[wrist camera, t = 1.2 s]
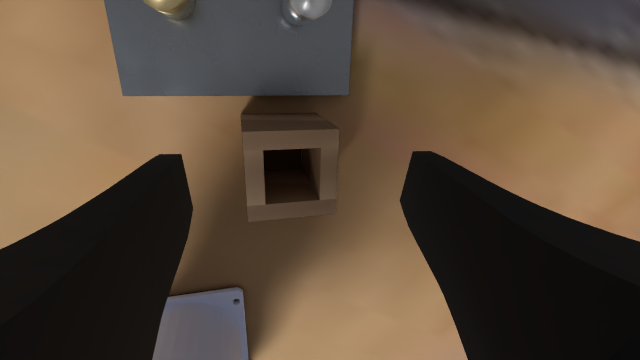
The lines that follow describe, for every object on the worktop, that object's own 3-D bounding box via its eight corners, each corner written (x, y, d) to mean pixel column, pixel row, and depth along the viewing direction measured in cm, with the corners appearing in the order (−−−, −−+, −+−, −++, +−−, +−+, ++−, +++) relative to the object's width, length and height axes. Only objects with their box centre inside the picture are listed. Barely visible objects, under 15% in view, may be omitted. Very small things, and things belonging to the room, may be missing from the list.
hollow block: (314, 181, 21) (335, 213, 17) (245, 185, 20) (248, 222, 16) (315, 112, 20) (339, 129, 15) (240, 114, 19) (241, 131, 14)
